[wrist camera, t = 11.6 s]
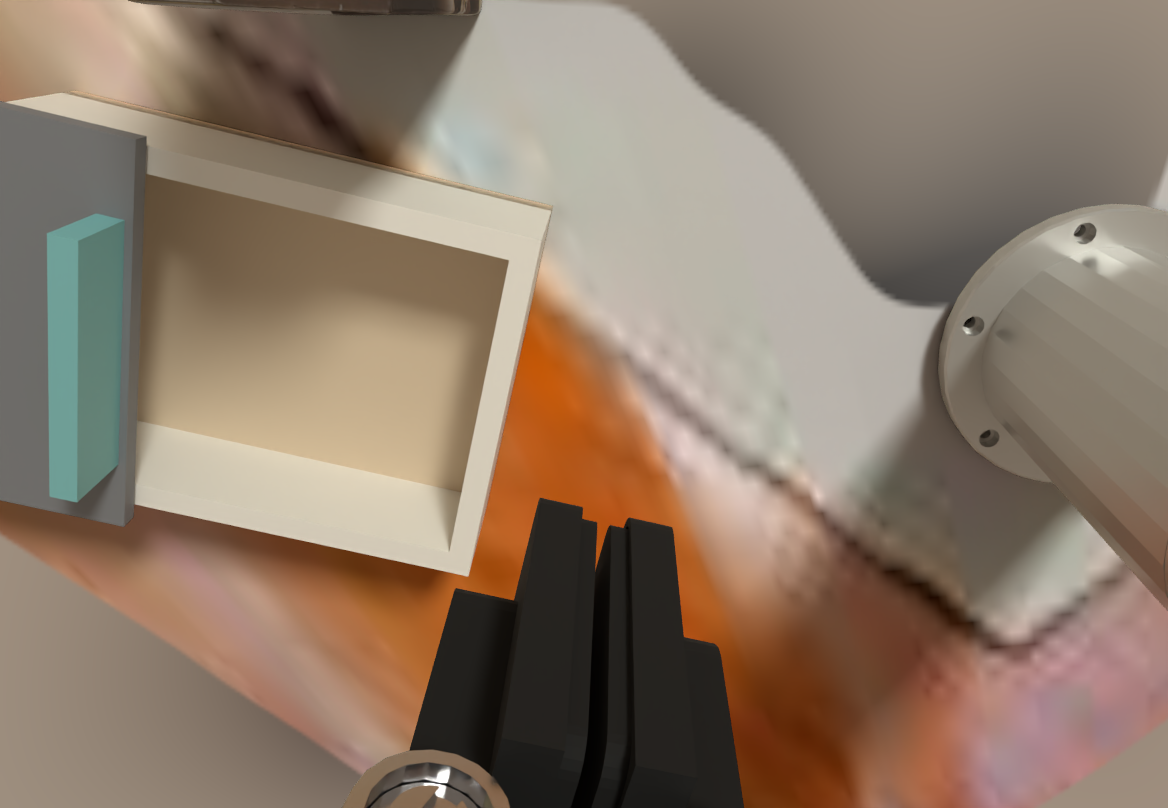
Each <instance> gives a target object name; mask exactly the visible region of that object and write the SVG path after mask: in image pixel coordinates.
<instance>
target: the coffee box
mask: <svg viewBox="0 0 1168 808" xmlns="http://www.w3.org/2000/svg"><path fill="white" fill-rule="evenodd" d="M128 1H132V2H136V3H142V4H152V5H165V6H178V7H192V8H208V9H224V10H242V11H261V12H280V13H302V14H330V15H427V14H431V15H432V14H436V15H468V16H470V15H477V14H479V13H480V11H481V8H482V0H128Z"/></svg>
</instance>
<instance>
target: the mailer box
mask: <svg viewBox="0 0 1168 808" xmlns="http://www.w3.org/2000/svg"><path fill="white" fill-rule="evenodd" d="M6 103H10V104H14V105H19V106H23V107H27V108H31V109H35V110H39V111H44V112H48V113H52V114H56V115H60V116H64V117H69V118H73V119H77V120H81V121H85V122H89V123H94V124H98V125H102V126H106V127H110V128H114V129H118V130H123V131H127V132H131V133H135V134H139V135H143V136H147V146H146V175H145V204H144V233H143V262H142V291H141V320H140V349H139V378H138V407H137V436H136V465H135V494H134V504H135V505H140V506H144V507H149V508H154V509H158V510H163V511H167V512H172V513H177V514H181V515H186V516H191V517H195V518H200V519H205V520H209V521H214V522H218V523H223V524H228V525H232V526H237V527H242V528H246V529H251V530H255V531H260V532H265V533H269V534H274V535H279V536H283V537H288V538H293V539H297V540H302V541H306V542H311V543H316V544H320V545H325V546H330V547H334V548H339V549H343V550H348V551H353V552H357V553H362V554H367V555H371V556H376V557H380V558H385V559H390V560H394V561H399V562H404V563H408V564H413V565H418V566H422V567H427V568H431V569H436V570H441V571H445V572H450V573H455V574H459V575H464V576H468V575H469V572H470V568H471V564H472V560H473V557H474V553H475V549H476V545H477V541H478V538H479V534H480V530H481V526H482V523H483V519H484V515H485V511H486V507H487V503H488V499H489V494H490V490H491V485H492V481H493V476H494V471H495V467H496V462H497V458H498V453H499V449H500V444H501V440H502V435H503V431H504V426H505V421H506V417H507V412H508V408H509V403H510V399H511V394H512V390H513V385H514V381H515V376H516V371H517V367H518V362H519V358H520V353H521V349H522V344H523V340H524V335H525V331H526V326H527V321H528V317H529V312H530V308H531V303H532V299H533V294H534V290H535V285H536V281H537V276H538V271H539V267H540V262H541V258H542V253H543V249H544V244H545V240H546V235H547V231H548V226H549V221H550V217H551V212H552V208H553V206H551V205H547V204H542V203H538V202H534V201H530V200H526V199H522V198H518V197H514V196H509V195H505V194H501V193H497V192H493V191H489V190H485V189H481V188H476V187H472V186H468V185H464V184H460V183H456V182H452V181H448V180H443V179H439V178H435V177H431V176H427V175H423V174H419V173H414V172H410V171H406V170H402V169H398V168H394V167H390V166H386V165H381V164H377V163H373V162H369V161H365V160H361V159H357V158H353V157H348V156H344V155H340V154H336V153H332V152H328V151H324V150H320V149H315V148H311V147H307V146H303V145H299V144H295V143H291V142H286V141H282V140H278V139H274V138H270V137H266V136H262V135H258V134H253V133H249V132H245V131H241V130H237V129H233V128H229V127H225V126H220V125H216V124H212V123H208V122H204V121H200V120H196V119H192V118H187V117H183V116H179V115H175V114H171V113H167V112H163V111H159V110H154V109H150V108H146V107H142V106H138V105H134V104H130V103H125V102H121V101H117V100H113V99H109V98H105V97H101V96H97V95H92V94H88V93H84V92H80V91H76V90H75V91H69V92H63V93H57V94H51V95H45V96H39V97H33V98H27V99H21V100H15V101H9V102H6Z"/></svg>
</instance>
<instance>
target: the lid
mask: <svg viewBox="0 0 1168 808" xmlns="http://www.w3.org/2000/svg"><path fill="white" fill-rule="evenodd" d="M146 146H147V136H143V135H139V134H135V133H131V132H127V131H123V130H118V129H114V128H110V127H106V126H102V125H98V124H94V123H89V122H85V121H81V120H77V119H73V118H69V117H64V116H60V115H56V114H52V113H48V112H44V111H39V110H35V109H31V108H27V107H23V106H19V105H14V104H10V103H6V102H2V101H0V500H1V501H6V502H10V503H15V504H20V505H24V506H29V507H34V508H38V509H43V510H48V511H52V512H57V513H62V514H66V515H71V516H76V517H80V518H85V519H90V520H94V521H99V522H104V523H108V524H113V525H118V526H122V527H125V525H126V524H127V523H128V522H129V521H130V520H131V519H132V518H133V517H134V494H135V465H136V436H137V407H138V378H139V349H140V320H141V291H142V262H143V233H144V204H145V175H146Z"/></svg>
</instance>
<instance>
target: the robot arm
mask: <svg viewBox="0 0 1168 808" xmlns="http://www.w3.org/2000/svg"><path fill="white" fill-rule="evenodd" d="M1079 225H1081V228H1080V230H1079V232H1078V233H1076V234H1074V232H1075V230H1076V229H1077V227H1078V226H1079ZM971 317H972V320H971V322H970V323H969V324H967V325H964V323H965V322H966V320H967V319H969V318H971ZM938 376H939V382H940V388H941V394H942V398H943V401H944V403H945V406H946V408H947V411H948V413H949V416H950V418H951V420H952V421H953V422H954V424H955V425H956V427H957V428H958V430H959V431H960V433H961V434H962V435H963V437H964V438H965V439H966V440H967V441H968V443H969V444H970V445H971V446H972V447H973V449H974V450H975V451H976V452H978V453H979V454H980V455H982V456H983V457H984V458H986V459H987V460H988V461H990V462H991V463H993V464H994V465H995V466H997V467H999V468H1001V469H1003V470H1005V471H1008V472H1010V473H1012V474H1015V475H1017V476H1019V477H1023V478H1027V479H1031V480H1036V481H1040V482H1044V483H1054V484H1055V485H1056V487H1057V488H1058V489H1059V490H1060V491H1061V492H1062V493H1063V494H1064V496H1065V497H1066V498H1067V499H1068V500H1069V501H1070V502H1071V503H1072V505H1073V506H1074V507H1075V508H1076V509H1077V510H1078V511H1079V512H1080V514H1081V515H1082V516H1083V517H1084V518H1085V519H1086V520H1087V521H1088V523H1089V524H1090V525H1091V526H1092V527H1093V528H1094V529H1095V530H1096V531H1097V533H1098V534H1099V535H1100V536H1101V537H1102V538H1103V539H1104V540H1105V542H1106V543H1107V544H1108V545H1109V546H1110V547H1111V548H1112V549H1113V551H1114V552H1115V553H1116V554H1117V555H1118V556H1119V557H1120V558H1121V560H1122V561H1123V562H1124V563H1125V564H1126V565H1127V566H1128V567H1129V569H1130V570H1131V571H1132V572H1133V573H1134V574H1135V575H1136V576H1137V578H1138V579H1139V580H1140V581H1141V582H1142V583H1143V584H1144V585H1145V587H1146V588H1147V589H1148V590H1149V591H1150V592H1151V593H1152V594H1153V596H1154V597H1155V598H1156V599H1157V600H1158V601H1159V602H1160V603H1161V604H1162V605H1163V607H1164V608H1165V609H1166V610H1167V611H1168V212H1166V211H1162V210H1158V209H1154V208H1150V207H1146V206H1142V205H1125V204H1107V205H1099V206H1093V207H1085V208H1079V209H1076V210H1073V211H1070V212H1067V213H1064V214H1061V215H1057V216H1054V217H1051V218H1049V219H1047V220H1045V221H1043V222H1041V223H1039V224H1037V225H1035V226H1033V227H1032V228H1029V229H1027V230H1025V231H1024V232H1022V233H1020V234H1019V235H1018V236H1016V237H1015V238H1014V239H1012V240H1011V241H1009V242H1008V243H1007V244H1005V245H1004V246H1003V247H1001V248H1000V249H999V250H997V251H996V252H995V253H994V254H993V255H992V256H991V257H990V258H989V259H988V260H987V261H986V262H985V263H984V264H983V265H982V266H981V267H980V268H979V269H978V270H977V271H976V272H975V274H974V275H973V276H972V278H971V279H970V281H969V282H968V283H967V285H966V286H965V288H964V289H963V291H962V292H961V293H960V295H959V296H958V298H957V301H956V302H955V305H954V307H953V309H952V311H951V313H950V315H949V317H948V319H947V321H946V325H945V329H944V332H943V336H942V340H941V344H940V348H939V365H938ZM985 431H986V432H985ZM983 432H985V433H983ZM982 433H983V434H982ZM582 514H583V508H582V507H579V506H575V505H570V504H566V503H561V502H557V501H552V500H548V499H543V498H540V499H539V502H538V506H537V509H536V513H535V517H534V522H533V526H532V530H531V534H530V538H529V542H528V546H527V550H526V554H525V558H524V562H523V566H522V570H521V574H520V578H519V582H518V586H517V590H516V595H515V599H514V601H513V600H508V599H504V598H499V597H494V596H490V595H485V594H481V593H476V592H471V591H467V590H462V589H457V588H456V589H455V591H454V594H453V598H452V601H451V605H450V608H449V612H448V615H447V619H446V622H445V626H444V629H443V633H442V637H441V640H440V644H439V647H438V651H437V654H436V658H435V661H434V665H433V669H432V672H431V676H430V679H429V683H428V686H427V690H426V693H425V697H424V701H423V704H422V708H421V711H420V715H419V718H418V722H417V725H416V729H415V733H414V736H413V740H412V743H411V747H410V750H409V751H406V752H403V753H400V754H397V755H393V756H390V757H387V758H385V759H383V760H382V761H380V762H379V763H377V764H376V765H374V766H373V767H371V768H370V769H368V770H367V771H366V772H365V773H364V774H363V776H362V777H361V778H360V779H359V781H358V782H357V783H356V784H355V786H354V787H353V788H352V790H351V792H350V794H349V795H348V797H347V799H346V801H345V803H344V804H343V806H342V808H744V804H743V798H742V791H741V785H740V778H739V772H738V765H737V759H736V752H735V745H734V739H733V732H732V726H731V719H730V713H729V706H728V700H727V693H726V687H725V680H724V673H723V667H722V660H721V655H720V651H719V648H718V647H717V646H716V645H715V644H713V643H708V642H704V641H699V640H694V639H690V638H685V637H684V635H683V625H682V615H681V605H680V595H679V585H678V575H677V565H676V555H675V545H674V534H673V529H672V527H669V526H665V525H660V524H656V523H651V522H647V521H642V520H638V519H633V518H628V519H627V521H626V523H625V526H624V528H620V527H616V526H611V525H610V526H609V528H608V530H607V533H606V536H605V539H604V543H603V546H602V550H601V553H600V557H599V560H598V564H597V567H596V571H595V563H596V540H597V522H593V521H589V520H584V519H582Z"/></svg>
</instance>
